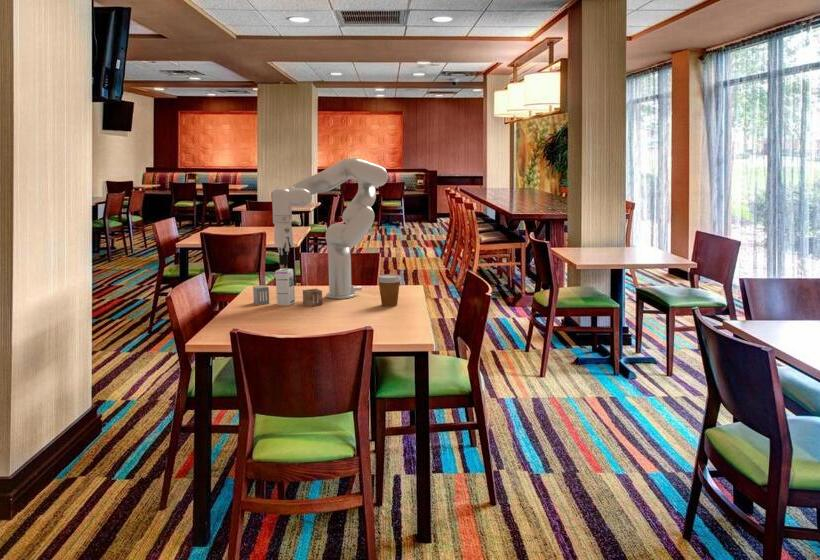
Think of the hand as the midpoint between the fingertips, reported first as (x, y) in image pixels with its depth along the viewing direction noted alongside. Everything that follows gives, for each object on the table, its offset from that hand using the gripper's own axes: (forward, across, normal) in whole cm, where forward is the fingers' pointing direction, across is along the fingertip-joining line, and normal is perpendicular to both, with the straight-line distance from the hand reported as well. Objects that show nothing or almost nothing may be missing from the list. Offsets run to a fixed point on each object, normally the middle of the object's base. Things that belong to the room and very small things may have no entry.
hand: (283, 264), depth 295 cm
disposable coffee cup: (+16, -25, -36) cm, 46 cm away
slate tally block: (+17, +7, +8) cm, 20 cm away
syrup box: (+17, 0, 0) cm, 17 cm away
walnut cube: (+16, -7, -10) cm, 20 cm away
